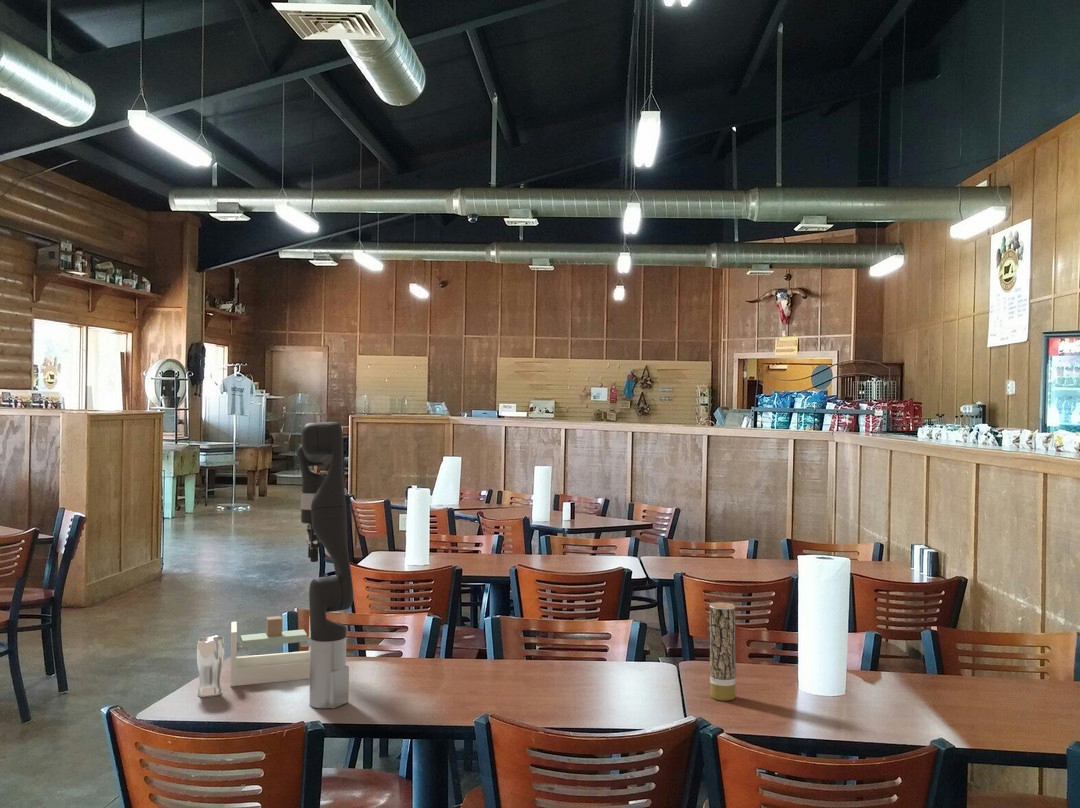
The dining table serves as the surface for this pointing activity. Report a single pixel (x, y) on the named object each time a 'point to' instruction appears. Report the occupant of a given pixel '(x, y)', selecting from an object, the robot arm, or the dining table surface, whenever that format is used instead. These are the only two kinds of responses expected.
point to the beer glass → (210, 665)
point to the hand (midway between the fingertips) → (313, 559)
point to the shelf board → (273, 640)
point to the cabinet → (267, 664)
